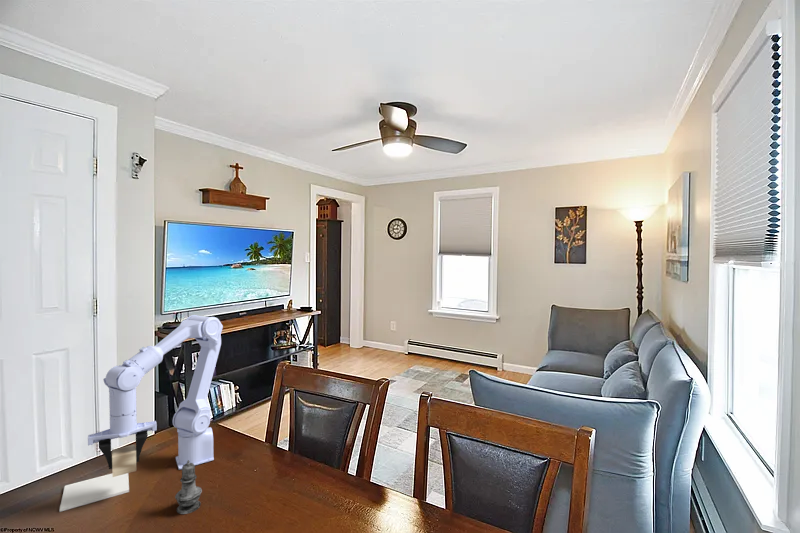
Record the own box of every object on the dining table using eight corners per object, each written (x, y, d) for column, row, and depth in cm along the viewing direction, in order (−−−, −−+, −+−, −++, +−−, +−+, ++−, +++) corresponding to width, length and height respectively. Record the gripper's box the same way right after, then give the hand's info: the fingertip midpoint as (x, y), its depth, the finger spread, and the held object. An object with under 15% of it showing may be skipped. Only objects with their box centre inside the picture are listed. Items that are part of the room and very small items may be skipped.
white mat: (128, 471, 114) (128, 469, 114) (129, 491, 104) (129, 489, 104) (64, 487, 106) (64, 485, 106) (59, 511, 96) (59, 509, 96)
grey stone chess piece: (190, 516, 95) (190, 467, 94) (169, 513, 96) (168, 464, 95) (207, 501, 100) (206, 455, 100) (187, 498, 102) (186, 452, 101)
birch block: (135, 462, 106) (135, 444, 106) (136, 470, 102) (136, 451, 102) (112, 468, 103) (111, 449, 103) (112, 477, 99) (112, 457, 99)
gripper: (86, 424, 94) (87, 480, 95) (157, 410, 103) (158, 461, 103) (88, 414, 100) (89, 467, 100) (155, 402, 109) (155, 450, 109)
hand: (124, 463), depth 102 cm, fingers closed on birch block, 5 cm apart
